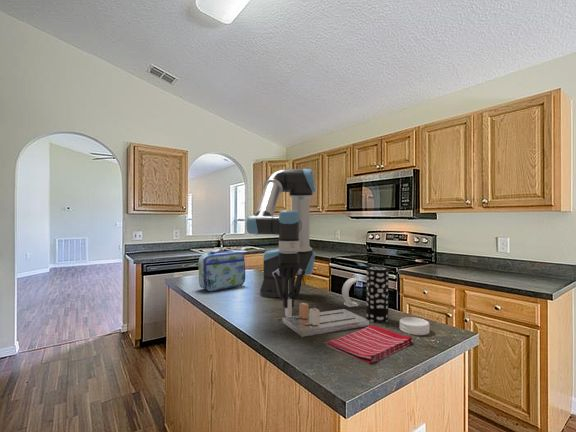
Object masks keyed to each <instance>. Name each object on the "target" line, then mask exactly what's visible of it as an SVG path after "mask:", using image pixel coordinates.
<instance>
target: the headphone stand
mask: <svg viewBox="0 0 576 432" xmlns="http://www.w3.org/2000/svg"><path fill="white" fill-rule="evenodd" d="M357 282H359V279H358V278H354V277H351V278H348V279H346V281H345V282H344V283H343V286H342V288H341V295H342V298H343V299H344V301H345V302H343V305H344V306H346V307H348V308H353V307H359V303H357V302H356V301H351V299H350V296H349V295H350V294H349V291H350V289H351V287H352V285H354V284H355V283H357Z"/></svg>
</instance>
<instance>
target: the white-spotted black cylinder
mask: <svg viewBox="0 0 576 432" xmlns="http://www.w3.org/2000/svg"><path fill="white" fill-rule="evenodd" d="M389 271H390V269H389V268H387V267H381V266H369V267H368V266H367V267H366V313H365V314H366V317H365V319H367V320H369V322H373V323H378V324H379V323H387V322H389V281H390V280H389V275H390V274H389Z"/></svg>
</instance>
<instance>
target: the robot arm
mask: <svg viewBox="0 0 576 432" xmlns="http://www.w3.org/2000/svg"><path fill="white" fill-rule="evenodd" d="M315 183H316V182H315V176H314V171H313V170H312V168H311V169H310V168H281V169H277V170H276V171H273V172H272V173H271V174H270V175H268V177H267V178H266V179H265V181H264V183H263V186H262V188H263V189H262V190H263V192H262V195H261V197H260V200H259V203H258V206H257V209H256V212H255V215H249V216H247V218H246V226H245V227H246V231H247V233H248V234H249V235H256V236H257V235H276V236H277V235H278V248H276V249H269V250H266V251H265V252H264V253H263V259H262V260H263V279H262V283H261V286H260V288H259V294H260V296H261V297H264V298H265V297H266V298H280V299H282V307H283V308H284V317H292V316H293V315H292V313H293V310H292V309H293V308H294V306H295V299H296V297H299V296H300V292H301V287H302V284H303V283H302V282H303V278H304V276H310V275H312V274H313V272H314V264H315V258H316V252H314V251H313V247H311V246H310V199H311V198H312V197H313V193H315V192H316V184H315ZM282 193H288V194H289V197H290V198H291V200H292V210H280V211H279V212H278V215H274V214H275V210H276V207H277V203H278V200H279V197H280V195H281V194H282Z"/></svg>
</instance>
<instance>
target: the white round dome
mask: <svg viewBox="0 0 576 432" xmlns="http://www.w3.org/2000/svg"><path fill="white" fill-rule="evenodd" d="M430 326H431V324H430V322H429V321H428V320H426V319H424V318H420V317H412V316H406V317H404V316H403V317H401V318H400V319H399V330H400V331H402V332H403V333H405V334H409V335H414V336H425V335H428V334H430V329H431V328H430Z"/></svg>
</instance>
